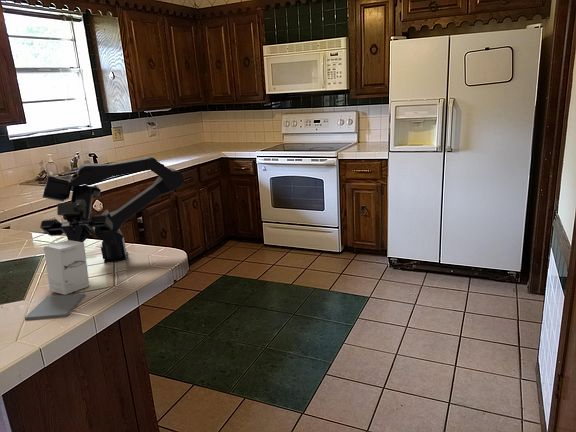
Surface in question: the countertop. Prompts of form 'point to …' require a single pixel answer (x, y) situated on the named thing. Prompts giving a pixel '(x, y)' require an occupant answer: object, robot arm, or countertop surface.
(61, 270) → the supplement box
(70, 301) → the rubber mat
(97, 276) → the countertop surface
